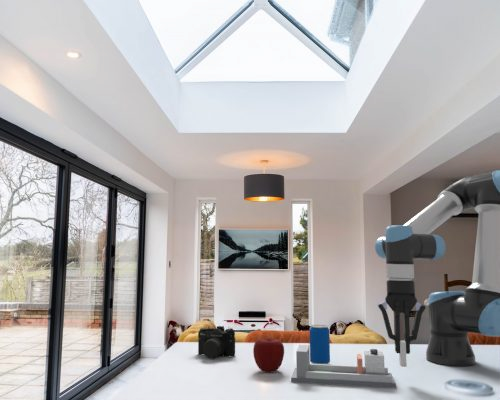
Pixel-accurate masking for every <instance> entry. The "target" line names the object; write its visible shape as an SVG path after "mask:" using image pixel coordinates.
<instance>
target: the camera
mask: <svg viewBox="0 0 500 400" xmlns="http://www.w3.org/2000/svg"><path fill="white" fill-rule="evenodd" d="M210 327H211V326H207V328H206V327H205V328H204V327H203V328H200V329H199V330H198V333H197V334H198V335H197V336H198V340H197V341H198V347H197V349H198V350H197V353H198V355H202V354H204V355H203V356H205V358H207V359H210V360H211V359H215V358H218V357H217V356H222V357H229V356H234V357H235V356H236V332H235V329H233V327H232V328H228V329H227V330H225V326H223V325H222V326H221V325H219V326H216V328H214V327H213V328H212V327H211V328H210Z"/></svg>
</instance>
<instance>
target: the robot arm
mask: <svg viewBox="0 0 500 400" xmlns="http://www.w3.org/2000/svg"><path fill="white" fill-rule="evenodd" d="M472 209H474V211H475V212H476V213H477V214H478V216H477V217H478V218H477V227H476V228H477V229H476V238H475V239H476V240H475V249H474V250H475V251H474V257H473V259H474V260H473V268H472V269H473V270H472V280H471V281H472V282H471V284H470V285H469V286H467V287H466V289H465V290H450V291H436V292H431V293H430V294H429V296H428V312H429V313H428V314H429V329H430V336H429V341H428V344H427V346H426V347H427V348H426V351H425V357H426V360H427V361H428V362H431V363H434V364H439V365H445V366H453V367H454V366H458V367H459V366H462V367H464V366H465V367H466V366H473V365H475V364H476V355H475V353H474V350H473V348H472V347H473V346H472V344H471V343H470V340H469V333H470V334H475V335H482V336H485V337H497V338H498V337H500V170H498V169H496V170H494V171H489V172H488V171H487V172H484V173H479V174H474V175H473V174H472V175H468V176H465V177H463V178H461V179H459V180H457V181H455V182H454V183H452V184H450V185H449V186H448V187H447V188H445V189H443V190H442V191H441V192H440V193H439V194H438V195H437V199H436V200H434V201H433V202H431V203H430V204H429V205H428V206H426V207H425V208H424V209H422V210H421V211H419V212H418V213H417V214H416V215H415V216H413V217H412V218H411V219H409V220H408V221H407V222H406V223H404V224H403V225H402V224H400V225H399V224H396V225H389V226H387V227H386V228H385V235H383V236H380V237H378V238H377V240H376V241H375V244H374V250H375V253H376V254H377V256H378V257H379V258H380V259H383V260H385V263H386V267H385V269H386V271H385V272H386V273H385V274H386V278H387V280H386V296H385V299H384V300H383V301H382V302H380V303H378V304H377V307H378V309H379V310H380V311H381V314H382V319H383V322H384V326H385V329H386V334H387V336H388V339H390V340H393V341H394V350H395V353H396V354H399V356H398V357H399V366H400V367H402V368H403V367H404V368H405V367H406V368H407V367H408V366H407V354H408V355H410V353H411V342H412V341H416V340H417V337H418V334H419V330H420V329H419V328H420V324H421V320H422V316H423V313H424V312H425V310H426V306H425V305H424V304H421V303H420V302H418V300H417V297H416V292H415V291H416V289H415V288H416V287H415V281H414V280H413V279H415V268H414V264H415V263H414V261H415V260H428V261H429V260H431V261H432V260H439V259H440V258H442V257H443V256H444V255H445V252H446V242H445V241H444V239H443V237H442V236H440V235H437V234H434V233H432V232H434V231H435V230H436V229H438V228H439V227H440V226H441V225H443V223H445V222H446V221H447V220H449V219H451V217H453V216H458V215H459V214H461V213H462V212H464V211H467V210H472ZM387 305H388V306H387ZM388 307H389V308H390V309H391V311H392V312H393V323H394V325H393V326H394V329H393V330H394V334H393V331H392V327H391V323H390V320H389V316H388V311H387V310H388ZM414 307H415V315H414V319H413V322H412V323H413V324H412V328H410V327H411V326H410V313H411V311H412V310H413V309H414ZM401 313H402V315H403V338H404V340H401V325H400V324H401V320H400V318H401V317H400V315H401ZM410 329H411V332H410Z"/></svg>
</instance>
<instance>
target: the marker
mask: <svg viewBox="0 0 500 400" xmlns="http://www.w3.org/2000/svg"><path fill="white" fill-rule="evenodd" d="M362 356H363V355H362V353H357V354H356V363H357V364H356V366H357V372H358V374H363V366H364V365H363V357H362Z"/></svg>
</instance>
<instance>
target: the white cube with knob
mask: <svg viewBox="0 0 500 400" xmlns="http://www.w3.org/2000/svg"><path fill="white" fill-rule="evenodd" d="M363 353H364V357H363V358H364V366H365V374H373V375H385V367H386V366H385V355H384V353H383V351H378V349H377V348H370V350H364V351H363Z"/></svg>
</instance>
